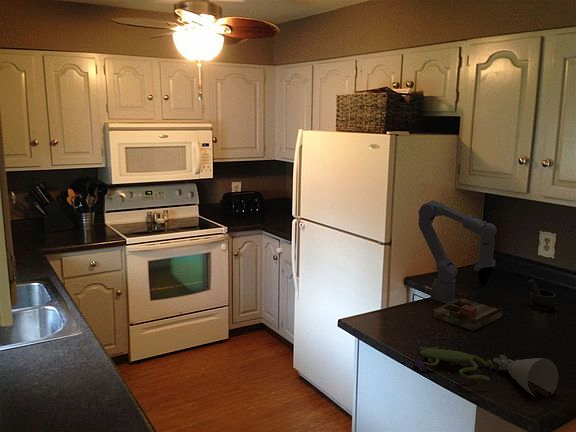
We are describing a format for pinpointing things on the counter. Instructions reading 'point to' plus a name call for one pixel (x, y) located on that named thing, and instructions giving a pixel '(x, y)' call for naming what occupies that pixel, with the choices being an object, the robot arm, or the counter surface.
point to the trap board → (452, 316)
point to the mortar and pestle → (540, 297)
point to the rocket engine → (531, 372)
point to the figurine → (450, 356)
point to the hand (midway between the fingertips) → (483, 284)
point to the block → (468, 311)
